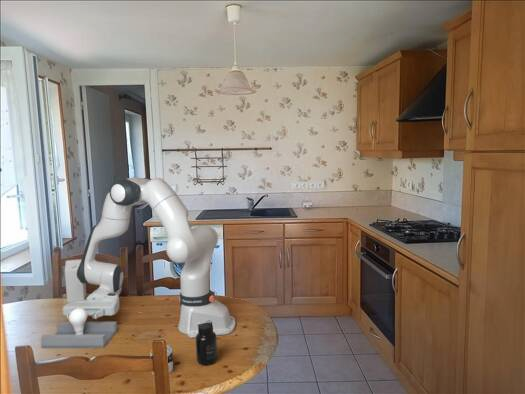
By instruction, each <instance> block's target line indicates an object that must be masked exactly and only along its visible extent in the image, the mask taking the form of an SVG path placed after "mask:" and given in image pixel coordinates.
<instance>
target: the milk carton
mask: <svg viewBox="0 0 525 394" xmlns="http://www.w3.org/2000/svg"><path fill="white" fill-rule="evenodd" d="M81 260H82V258H81V259H71V260H70V259H69V260H65V265H64V266H65V267H64V279H65V289H66V291H65V292H66V301H67V303H69V302H71V301H74V300H86V298H87V297H86V296H87V287H86V286H87V284H83V283H81V282H80V281H79V279H78V278H77V270H78V267H79V265H80V263H81Z"/></svg>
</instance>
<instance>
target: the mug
mask: <svg viewBox="0 0 525 394" xmlns="http://www.w3.org/2000/svg"><path fill="white" fill-rule="evenodd" d="M166 346H167V356H168V365H169V375H170V374H171V373H172V372H173V371H174V362H173V361H174V358H173V357H174V355H173V347H172V344H170V343H169V344H167V345H166ZM149 354H150V357H151V356H152V349H151V350H150V353H149ZM172 370H173V371H172ZM171 371H172V372H171ZM150 373H151V374H152V376H153V375H154V373H153V372H151V371H150Z"/></svg>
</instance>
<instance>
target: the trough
mask: <svg viewBox="0 0 525 394" xmlns="http://www.w3.org/2000/svg"><path fill="white" fill-rule="evenodd" d="M117 325H118V324H117V321H85V324H84V330H83V335H75V331H74V327H73V325H72V324H71V323H70V321H59V322H58V323H57V324H56V327H57V331H56V332H55V333H54V334H43V335H42V336H41V337H40V340H41V341H40V343H41V349H104V348H105V347H106V345H108V343H109V342H111V341H110V340H112V338H113V337H114V336H115V334H116V333H118V327H117Z"/></svg>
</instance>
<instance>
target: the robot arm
mask: <svg viewBox="0 0 525 394" xmlns="http://www.w3.org/2000/svg"><path fill="white" fill-rule="evenodd" d="M144 204H148V205H149V207H150V209H151V210H152V211H153V213H154V214H155V216H156V217H157V218H158V220H159V221H160V223H161V225H162V227H163V229H164V231H165V234H166V239H167V242H166V245H165V251H166V254H167V255H166V256H168V258H169V260H170V261H172V262H174V263H175V264H184V265H183V267H182V269H181V270H180V275H179V279H180V281H179V282H180V292H179V307H180V316H179V323H178V326H177V329H178V331H179V332H180V333H182V334H185V335H186V336H187V337H188V338H192V339H193V338H194V339H195V338H196V335H197V334H198V326H199V325H200V324H203V323H211V324H212V325H213V332H215V333H216V336H221V335H229V334H231V333H232V332H233V331H234V330H235V328H236V318H235V317H234V316H232V315H230V311H229V308H228V307H227V306H226V305H225V304H223V303H222V302H219V301H218V299H216V293H215V292H216V291H215V290H213V291H212V290H211V289H210V270H211V263H212V258H213V253H214V250H215V249H216V246H217V244H218V241H219V237H218V233H217V232H216V230H215V229H214V228H213V227H212V226H208V225H207V226H206V225H203V226H195V227H193V228H192V227H191V225H190V223H189V220H188V216H189V210H188V209H187V206H186V205H185V204H184V202H183V201H182V199H181V198H180V197H179V196H178V194H177V193H176V191H175V190H174V189H173V187H171V185H170V184H169V183H168V182H166V181H165V180H164V179H163V178H160V177H154V178H150V177H149V178H148V177H143V178H142V177H129V178H121V179H118V180H117V179H116V180H115V181H114V182H112V183H111V186H110V188H109V192H108V193H107V194H106V196H105V199H104V202H103V206H102V211H101V216H100V217H101V218H100V221H99V222H98V223H97V224H95V225H94V226H93V227H92V229H91V230H90V232H89V235H88V238H87V240H86V241H87V242H86V245H85V248H84V251H83V254H82V256H81V257H82V258H81V259H82V260H81V263H80V265H79V267H78V270H77V278H78V279H79V281H80V282H81V283H83V284H86V285H87V284H88V285H97V286H99V287H97V289H95V290H94V291H93V292H92V293H90V294H89V295H88V296H87V297H86V298H85V299H84V300H74V301H71V302H67V303H66V304H64V305H63V306H62V308H61V310H62V315H63V316H64V317H66V319H67V320H69V314H70V313H71V312H72V311H73V310H74V309H76V308H82V309H84V310H85V311H86V312H87V317H89V316H91V317H92V320H97V319H98V318H100V317H103V316H110V317H112V316H114V315H116V314H117V313H118V311H119V310H120V297H119V296H120V294H121V292H122V289H123V288H122V287H123V285H124V282H125V272H124V269H123V268H122V266H121V265H120V264H116V263H109V262H104V261H98V260H96V255H97V252H98V248H99V245H100V242H101V241H104V240H111V239H115V238H117V237H120V236H122V235H123V234H125V233H126V232H127V231H128V229H129V226H130V220H131V213H132V212H131V211H132V208H133V207H134V206H139V205H144Z"/></svg>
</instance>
